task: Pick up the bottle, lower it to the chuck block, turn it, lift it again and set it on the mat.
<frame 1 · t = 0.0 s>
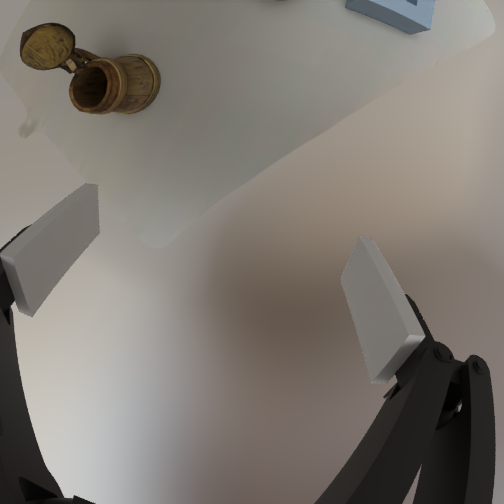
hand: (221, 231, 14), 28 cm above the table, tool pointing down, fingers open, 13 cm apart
wooden mug: (124, 72, 32), on the table
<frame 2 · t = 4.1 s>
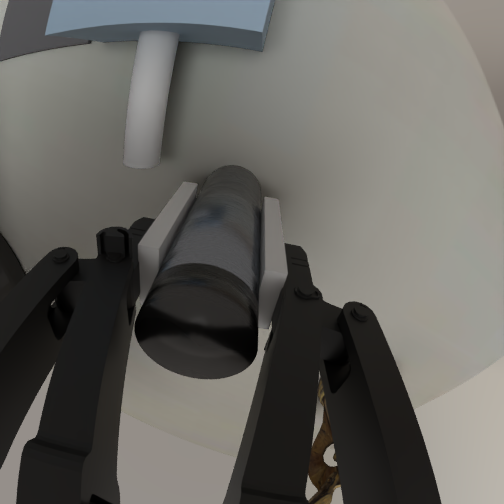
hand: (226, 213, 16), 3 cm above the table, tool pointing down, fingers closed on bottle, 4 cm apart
wooden mug: (338, 383, 29), on the table
bottle: (232, 192, 18), on the table, touching gripper
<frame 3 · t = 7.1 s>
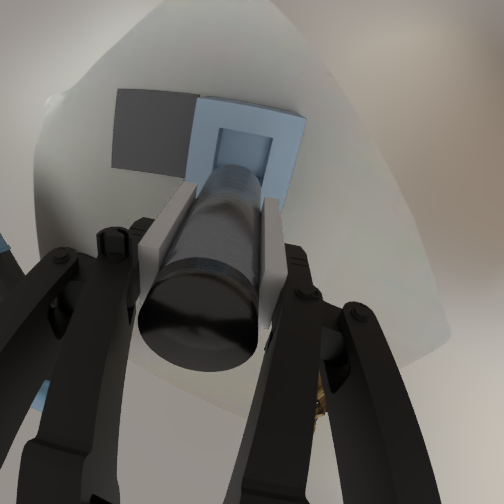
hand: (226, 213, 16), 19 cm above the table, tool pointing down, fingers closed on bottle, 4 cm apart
mat: (152, 131, 31), on the table
chuck block: (244, 145, 31), on the table
wooden mug: (318, 356, 50), on the table
bottle: (232, 191, 18), point 15 cm above the table, touching gripper
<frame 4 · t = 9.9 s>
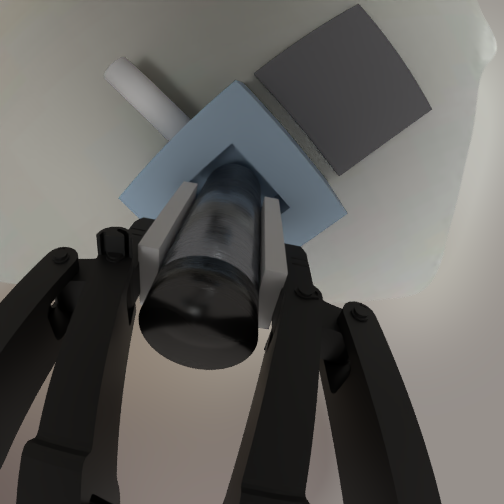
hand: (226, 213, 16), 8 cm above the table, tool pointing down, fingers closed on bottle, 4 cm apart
mat: (350, 87, 18), on the table
chuck block: (237, 173, 22), on the table
bottle: (232, 190, 18), point 4 cm above the table, touching gripper
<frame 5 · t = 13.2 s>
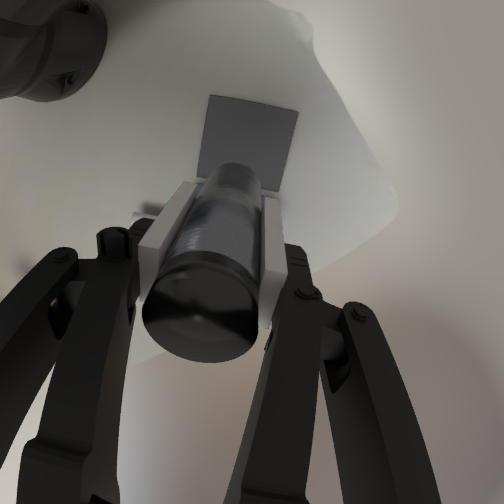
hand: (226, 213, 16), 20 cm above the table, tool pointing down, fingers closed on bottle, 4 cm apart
mat: (245, 143, 32), on the table
bottle: (233, 189, 19), point 16 cm above the table, touching gripper
when the fingers open (4 cm above the table, at t = 16.1 s): bottle stays where it is, resting on mat.
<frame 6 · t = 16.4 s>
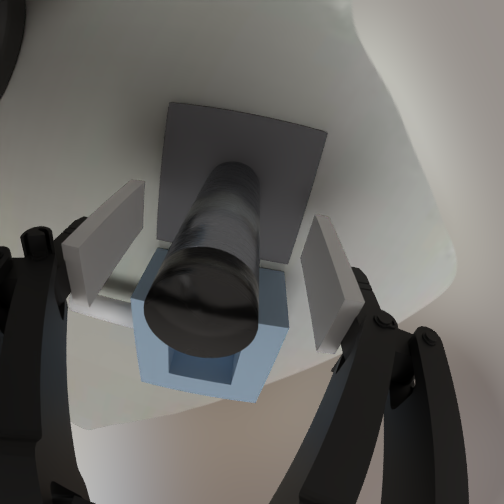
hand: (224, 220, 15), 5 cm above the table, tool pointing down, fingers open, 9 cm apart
mat: (233, 186, 19), on the table
chuck block: (212, 307, 25), on the table
bottle: (233, 187, 19), resting on mat
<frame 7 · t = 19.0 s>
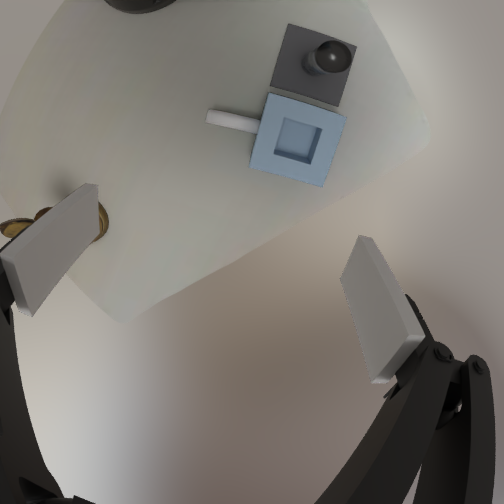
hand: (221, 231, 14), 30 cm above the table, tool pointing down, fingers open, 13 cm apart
mat: (314, 64, 34), on the table
chuck block: (292, 133, 39), on the table
wooden mug: (82, 207, 47), on the table
bottle: (314, 64, 33), resting on mat
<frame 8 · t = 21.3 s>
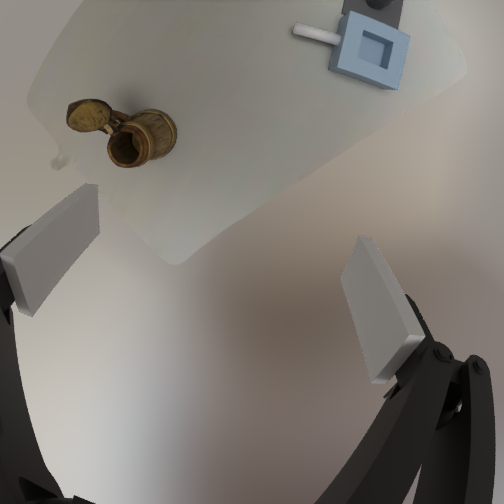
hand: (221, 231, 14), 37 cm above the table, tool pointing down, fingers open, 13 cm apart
mat: (374, 1, 31), on the table
chuck block: (363, 53, 37), on the table
wooden mug: (146, 123, 45), on the table
bottle: (374, 1, 31), resting on mat
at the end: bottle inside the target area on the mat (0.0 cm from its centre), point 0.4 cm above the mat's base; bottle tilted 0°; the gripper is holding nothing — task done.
